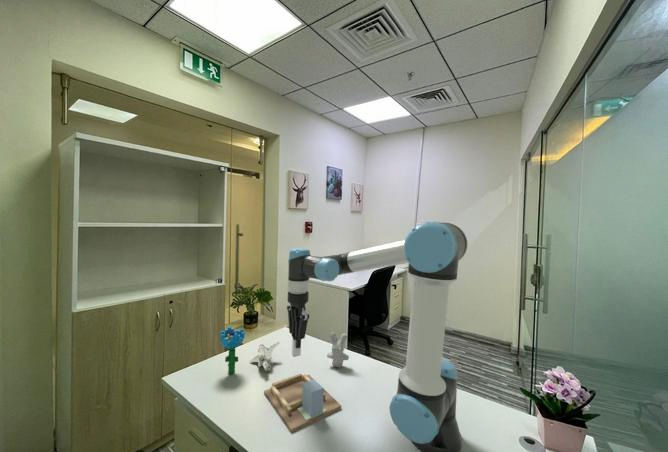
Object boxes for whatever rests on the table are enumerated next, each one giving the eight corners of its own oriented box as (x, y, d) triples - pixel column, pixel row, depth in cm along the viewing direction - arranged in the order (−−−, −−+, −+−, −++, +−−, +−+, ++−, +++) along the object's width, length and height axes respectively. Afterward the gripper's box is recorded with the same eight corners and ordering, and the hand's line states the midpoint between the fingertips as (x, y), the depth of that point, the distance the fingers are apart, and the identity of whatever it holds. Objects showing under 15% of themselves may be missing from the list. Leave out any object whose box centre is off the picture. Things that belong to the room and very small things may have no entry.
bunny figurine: (349, 365, 120) (350, 332, 119) (347, 371, 115) (348, 337, 114) (328, 362, 122) (329, 329, 121) (325, 368, 117) (326, 334, 116)
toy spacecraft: (274, 334, 123) (245, 353, 120) (276, 351, 108) (242, 374, 106) (283, 347, 125) (254, 367, 122) (286, 366, 110) (253, 389, 107)
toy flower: (234, 381, 105) (235, 336, 105) (214, 377, 108) (215, 333, 108) (247, 369, 114) (248, 327, 114) (229, 365, 117) (230, 324, 116)
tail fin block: (322, 412, 88) (323, 388, 88) (311, 417, 85) (311, 392, 85) (313, 401, 93) (314, 378, 93) (301, 406, 90) (302, 383, 90)
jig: (341, 409, 92) (341, 400, 92) (291, 433, 81) (291, 423, 81) (308, 377, 110) (309, 370, 110) (264, 393, 99) (264, 385, 99)
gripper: (316, 294, 94) (314, 360, 94) (298, 285, 105) (297, 345, 105) (297, 297, 90) (295, 366, 90) (281, 288, 100) (279, 350, 101)
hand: (296, 355), depth 98 cm, fingers closed
